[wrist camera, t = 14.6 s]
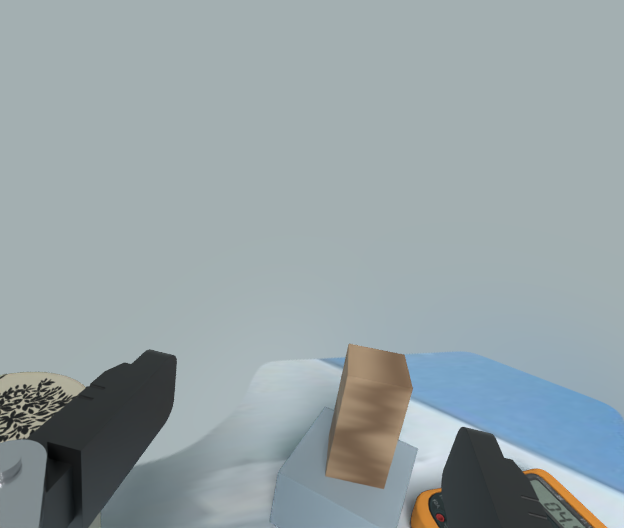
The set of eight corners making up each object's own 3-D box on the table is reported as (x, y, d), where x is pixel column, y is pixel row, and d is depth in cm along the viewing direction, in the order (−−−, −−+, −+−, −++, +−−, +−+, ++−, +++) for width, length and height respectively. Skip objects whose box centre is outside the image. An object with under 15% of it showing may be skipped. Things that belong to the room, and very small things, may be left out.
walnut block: (325, 476, 32) (347, 375, 29) (329, 433, 36) (348, 343, 33) (383, 489, 31) (412, 388, 28) (380, 444, 36) (404, 354, 33)
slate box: (269, 524, 33) (278, 471, 31) (316, 450, 42) (325, 406, 40) (377, 590, 29) (394, 535, 28) (403, 495, 38) (418, 448, 36)
